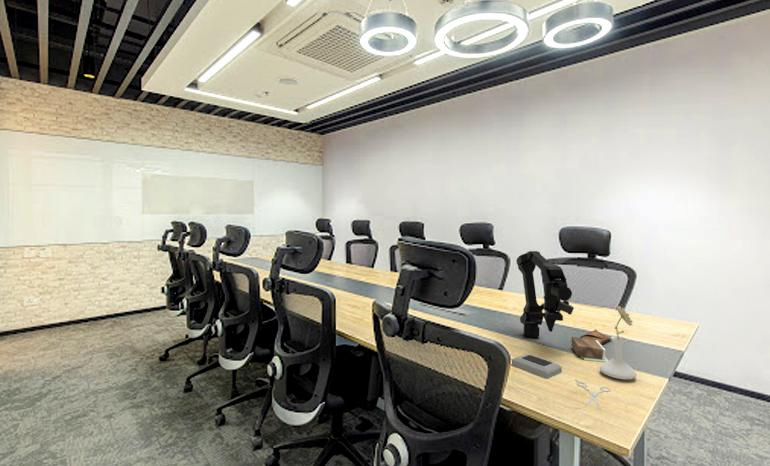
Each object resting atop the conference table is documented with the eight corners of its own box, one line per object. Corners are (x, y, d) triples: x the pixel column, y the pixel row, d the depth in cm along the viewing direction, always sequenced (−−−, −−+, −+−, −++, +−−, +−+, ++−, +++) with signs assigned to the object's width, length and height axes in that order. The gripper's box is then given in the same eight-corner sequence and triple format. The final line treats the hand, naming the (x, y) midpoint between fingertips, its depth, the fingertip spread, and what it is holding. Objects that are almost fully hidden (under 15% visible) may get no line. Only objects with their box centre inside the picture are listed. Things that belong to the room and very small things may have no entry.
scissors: (610, 386, 125) (614, 412, 107) (610, 388, 125) (614, 415, 107) (575, 378, 130) (573, 403, 112) (575, 381, 130) (573, 405, 112)
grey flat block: (525, 351, 148) (561, 363, 136) (525, 360, 148) (561, 373, 136) (511, 356, 142) (547, 369, 130) (510, 365, 142) (547, 380, 130)
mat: (581, 359, 148) (581, 357, 148) (573, 346, 164) (573, 344, 164) (609, 362, 146) (609, 360, 146) (598, 348, 161) (598, 347, 161)
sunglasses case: (599, 347, 160) (590, 332, 162) (584, 352, 164) (576, 338, 167) (612, 338, 172) (604, 325, 174) (598, 343, 177) (590, 330, 179)
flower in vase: (637, 385, 126) (640, 313, 125) (598, 377, 132) (601, 308, 131) (635, 372, 137) (638, 305, 136) (599, 365, 143) (602, 301, 142)
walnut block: (578, 345, 150) (605, 350, 148) (572, 336, 162) (597, 340, 159) (577, 355, 151) (604, 359, 148) (571, 345, 162) (596, 349, 159)
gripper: (577, 301, 147) (576, 340, 147) (567, 292, 165) (566, 326, 165) (547, 299, 150) (546, 337, 150) (540, 290, 168) (539, 324, 168)
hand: (550, 331), depth 159 cm, fingers closed
